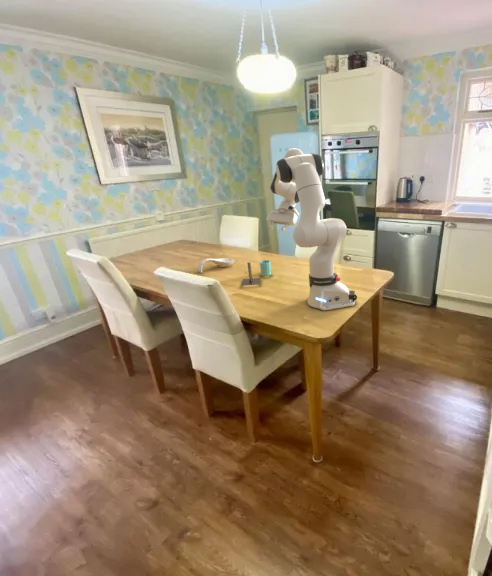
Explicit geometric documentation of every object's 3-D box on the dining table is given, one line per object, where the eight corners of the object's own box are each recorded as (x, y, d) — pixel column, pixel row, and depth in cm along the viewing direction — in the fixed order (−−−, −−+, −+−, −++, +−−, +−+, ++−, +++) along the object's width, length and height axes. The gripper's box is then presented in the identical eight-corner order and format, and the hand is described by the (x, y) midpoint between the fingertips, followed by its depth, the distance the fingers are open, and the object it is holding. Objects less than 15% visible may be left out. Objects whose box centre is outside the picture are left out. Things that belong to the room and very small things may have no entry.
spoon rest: (228, 261, 215) (227, 251, 212) (238, 265, 207) (236, 254, 204) (195, 270, 200) (193, 259, 197) (204, 275, 192) (202, 263, 189)
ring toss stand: (261, 280, 181) (258, 259, 176) (260, 286, 172) (257, 264, 167) (243, 281, 180) (240, 260, 176) (241, 288, 171) (238, 266, 166)
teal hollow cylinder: (271, 274, 190) (270, 259, 187) (271, 277, 185) (270, 262, 181) (261, 274, 190) (260, 260, 186) (261, 278, 184) (259, 263, 181)
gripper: (270, 205, 193) (260, 224, 190) (296, 207, 183) (287, 228, 179) (275, 212, 198) (266, 230, 195) (301, 214, 188) (292, 234, 184)
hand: (276, 229), depth 187 cm, fingers open, 8 cm apart
